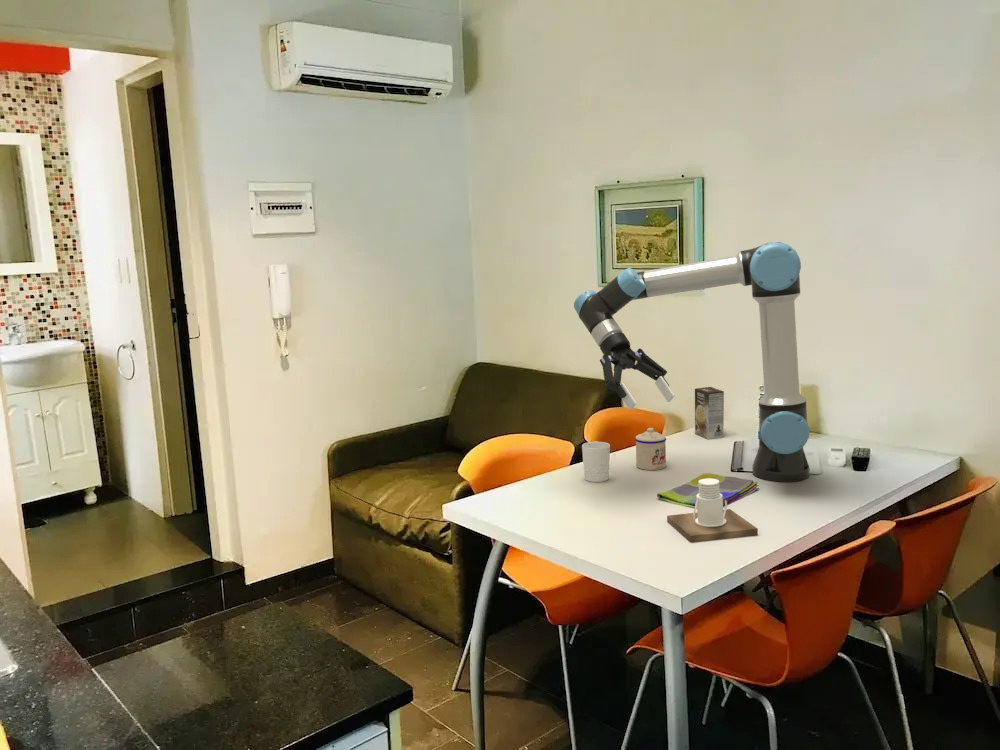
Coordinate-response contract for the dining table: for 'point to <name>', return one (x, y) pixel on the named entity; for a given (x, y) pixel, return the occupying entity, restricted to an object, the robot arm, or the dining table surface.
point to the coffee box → (709, 412)
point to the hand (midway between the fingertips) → (652, 402)
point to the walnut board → (696, 533)
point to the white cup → (596, 461)
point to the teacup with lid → (650, 450)
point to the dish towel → (728, 488)
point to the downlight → (709, 504)
